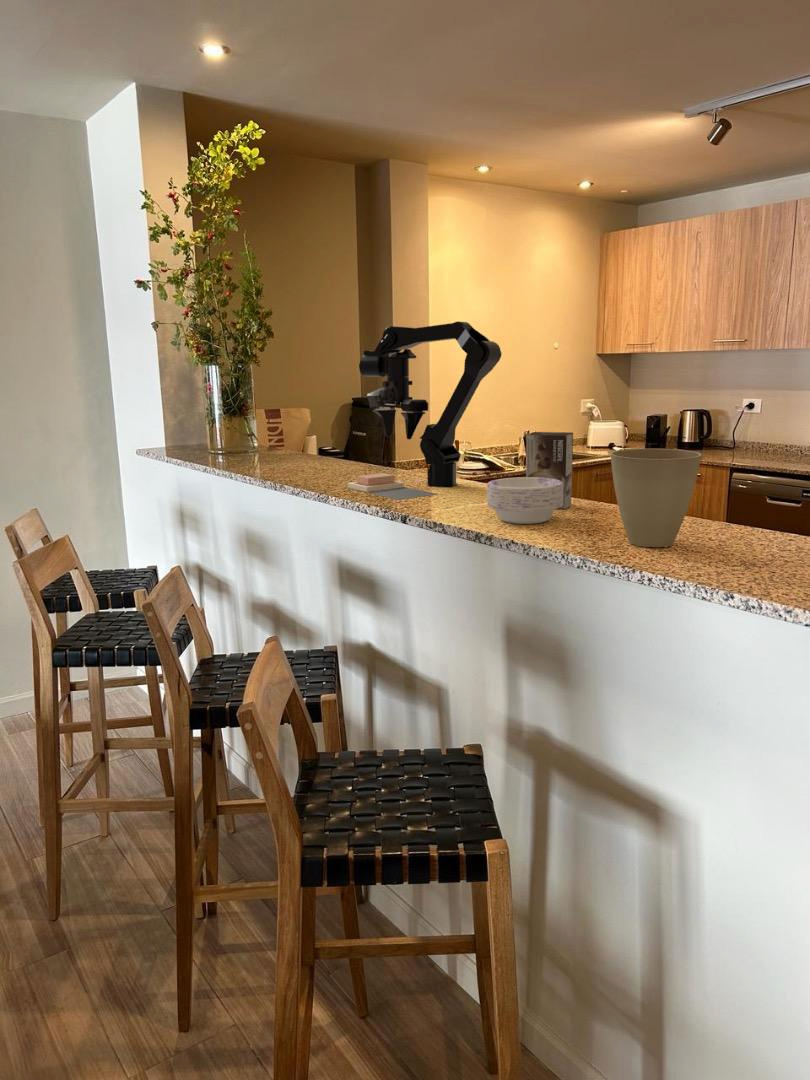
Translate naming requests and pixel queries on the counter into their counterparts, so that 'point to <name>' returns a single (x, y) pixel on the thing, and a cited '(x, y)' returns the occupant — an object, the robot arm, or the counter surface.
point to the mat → (390, 490)
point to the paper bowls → (525, 498)
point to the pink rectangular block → (375, 479)
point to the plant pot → (654, 492)
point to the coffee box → (551, 459)
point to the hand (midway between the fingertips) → (398, 437)
